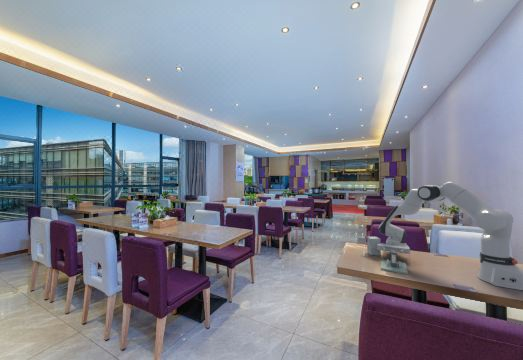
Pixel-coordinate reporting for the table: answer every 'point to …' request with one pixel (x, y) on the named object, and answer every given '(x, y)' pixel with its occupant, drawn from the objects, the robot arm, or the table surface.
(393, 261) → the drive
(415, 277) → the table surface
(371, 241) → the supplement box
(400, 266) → the pin tray
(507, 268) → the robot arm
